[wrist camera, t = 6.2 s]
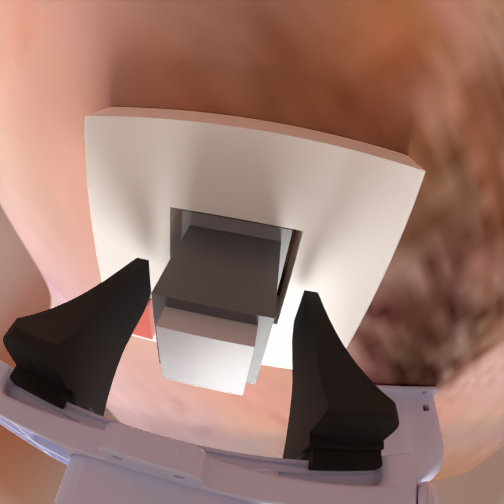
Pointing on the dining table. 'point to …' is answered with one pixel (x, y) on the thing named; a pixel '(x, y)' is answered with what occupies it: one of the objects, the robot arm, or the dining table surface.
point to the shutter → (240, 229)
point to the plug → (216, 308)
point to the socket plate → (250, 203)
